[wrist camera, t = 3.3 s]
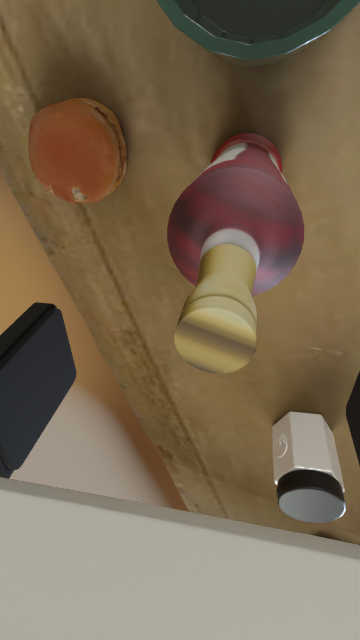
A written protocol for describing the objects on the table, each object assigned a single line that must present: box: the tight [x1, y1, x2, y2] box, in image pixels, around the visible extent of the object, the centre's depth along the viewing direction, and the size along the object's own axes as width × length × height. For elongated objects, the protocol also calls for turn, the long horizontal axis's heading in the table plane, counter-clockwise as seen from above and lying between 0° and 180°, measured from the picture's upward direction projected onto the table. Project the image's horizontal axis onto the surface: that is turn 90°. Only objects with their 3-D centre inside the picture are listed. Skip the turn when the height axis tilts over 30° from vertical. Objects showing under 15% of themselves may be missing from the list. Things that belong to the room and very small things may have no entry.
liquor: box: [167, 133, 304, 373], centre depth 22 cm, size 7×7×28 cm
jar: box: [272, 411, 346, 523], centre depth 48 cm, size 9×8×12 cm
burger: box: [29, 98, 127, 204], centre depth 34 cm, size 10×9×5 cm
